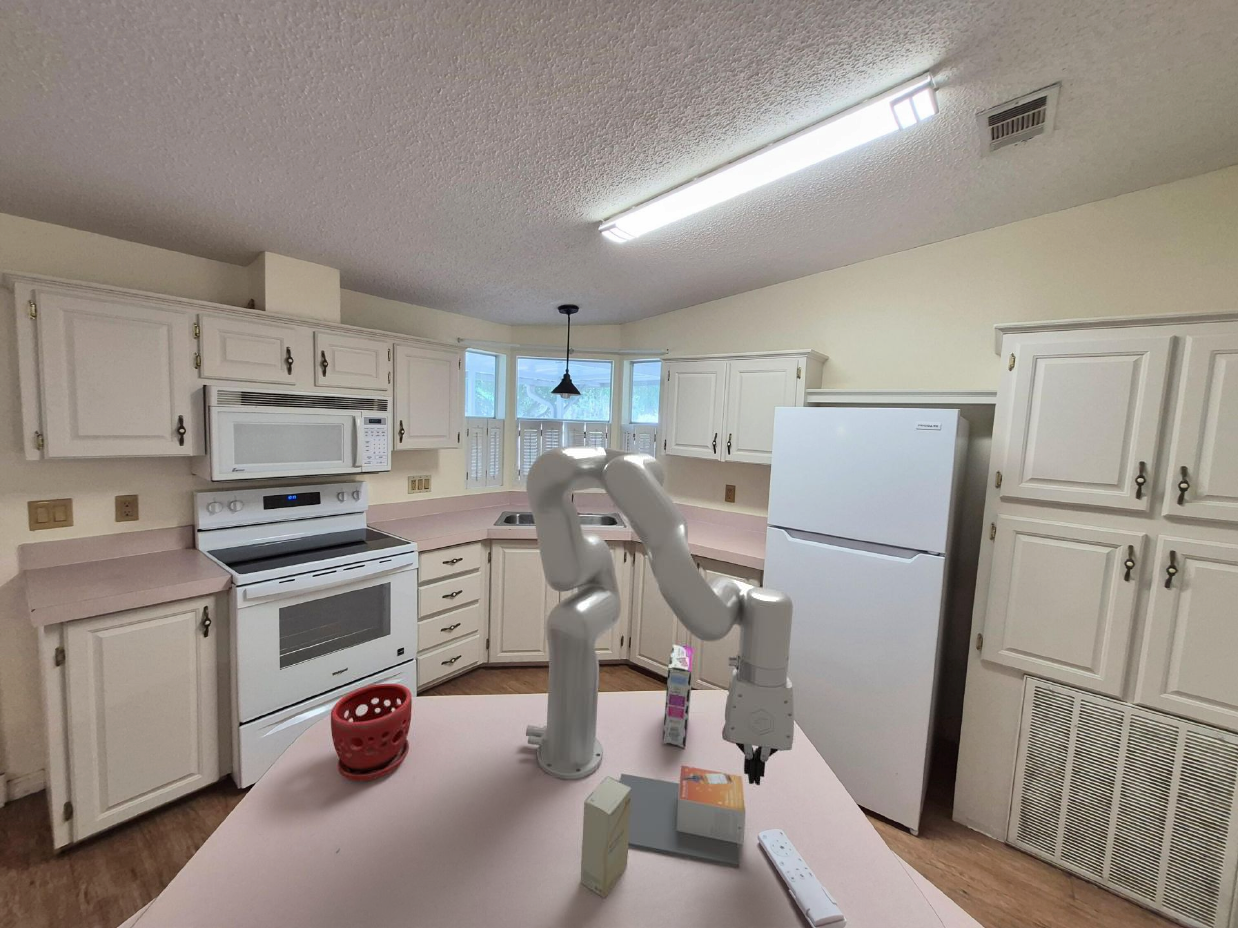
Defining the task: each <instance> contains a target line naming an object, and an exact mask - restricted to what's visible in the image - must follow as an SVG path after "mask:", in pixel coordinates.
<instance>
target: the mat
mask: <svg viewBox="0 0 1238 928" xmlns="http://www.w3.org/2000/svg"><path fill="white" fill-rule="evenodd" d="M619 778H620V779H619V782H621V783H623V784H625V785H627V786H629V787H630V788H631V799H630V819H629V839H628V848H629V847H630V848H634V849H638V850H639V849H640V850H644V851H648V852H649V851H650V852H654V853H659V854H665V855H668V856H669V855H670V856H675V857H680V858H683V859H684V858H686V859H691V860H695V861H700V862H705V863H711V864H716V865H721V866H726V867H730V868H737V869H740V868H741V867H740V865H741V863H740V854H739V844H738V843H733V842H728V841H723V840H718V839H714V838H709V837H704V836H699V835H694V834H689V833H684V832H680V831H677V811H678V792H679V782H674V781H667V780H666V781H665V780H661V779H655V778H650V777H645V776H639V775H632V774H626V773H621V774H620V777H619Z"/></svg>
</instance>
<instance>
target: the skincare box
mask: <svg viewBox="0 0 1238 928" xmlns="http://www.w3.org/2000/svg"><path fill="white" fill-rule="evenodd" d="M630 799H631V788H630V787H629V786H627V785H625V784H623V783H621V782H620V780H618V779H615V778H614V777H611V776H610V775H607V776H606V777H604V779H603V780H602V781H601V782H600V783H599V784H598V785H597V786H596V787H595V788H594V790H592V792H590V794H589V795H588V796H587V797H586V798H585V799H584V802H583V821H582V822H583V823H582V840H581V841H582V843H581V861H580V864H581V865H580V883H581V884H583V885H585V886H586V887H587V888H589V889H590V890H591V891H593V892H594V893H596V894H598V895H599V896H601V897H603V898H606V896H608V894H609V892H611V889H613V887H614V885H616V883H617V881H618V880H619V879H620V877H621V876H622V874H623V873H624V872H625V870H626V868H627V866H628V857H629V856H628V854H629V847H628V839H629V819H630Z"/></svg>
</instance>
